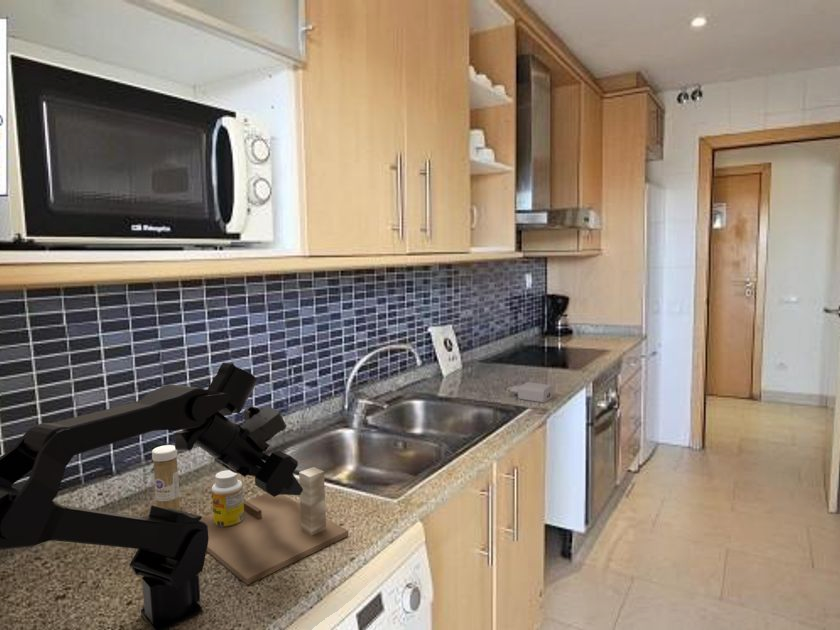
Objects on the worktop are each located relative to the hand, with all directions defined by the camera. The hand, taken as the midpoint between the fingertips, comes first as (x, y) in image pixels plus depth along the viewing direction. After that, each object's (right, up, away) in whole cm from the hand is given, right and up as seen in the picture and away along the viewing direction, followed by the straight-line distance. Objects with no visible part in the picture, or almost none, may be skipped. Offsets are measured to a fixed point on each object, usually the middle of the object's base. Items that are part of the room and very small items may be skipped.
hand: (286, 484), depth 94 cm
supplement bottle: (-13, -11, +9) cm, 19 cm away
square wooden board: (-6, -11, +6) cm, 14 cm away
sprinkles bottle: (-27, -11, +15) cm, 33 cm away
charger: (+61, 0, +96) cm, 114 cm away
